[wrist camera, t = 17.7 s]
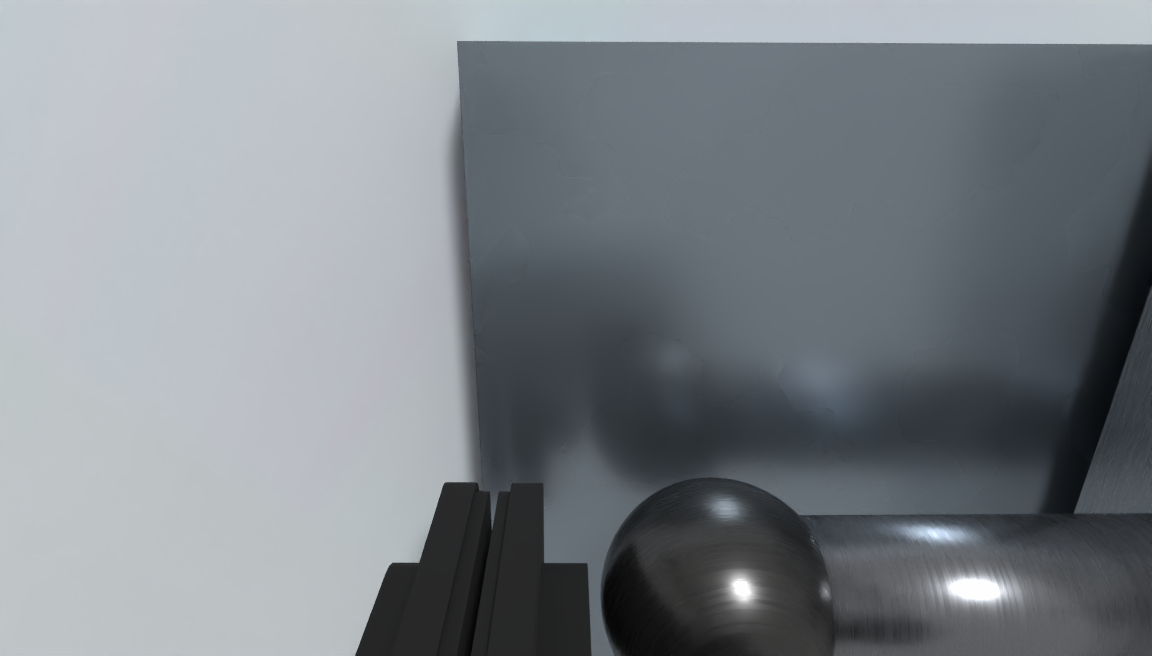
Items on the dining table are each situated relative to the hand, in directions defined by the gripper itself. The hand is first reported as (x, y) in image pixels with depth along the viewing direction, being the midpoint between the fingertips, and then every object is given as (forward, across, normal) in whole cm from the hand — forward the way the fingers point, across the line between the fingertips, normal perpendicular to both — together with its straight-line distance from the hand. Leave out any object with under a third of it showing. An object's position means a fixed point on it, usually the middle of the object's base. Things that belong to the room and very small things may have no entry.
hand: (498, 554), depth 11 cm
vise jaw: (+1, -8, 0) cm, 8 cm away
